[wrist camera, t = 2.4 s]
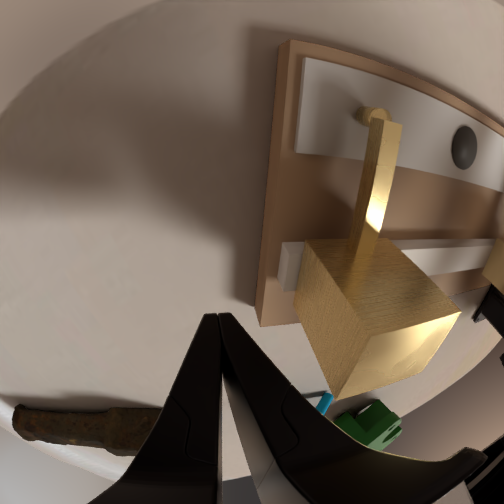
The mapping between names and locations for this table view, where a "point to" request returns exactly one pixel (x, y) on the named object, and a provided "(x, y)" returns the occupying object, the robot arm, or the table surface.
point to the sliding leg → (370, 287)
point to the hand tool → (88, 428)
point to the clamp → (372, 426)
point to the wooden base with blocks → (404, 179)
